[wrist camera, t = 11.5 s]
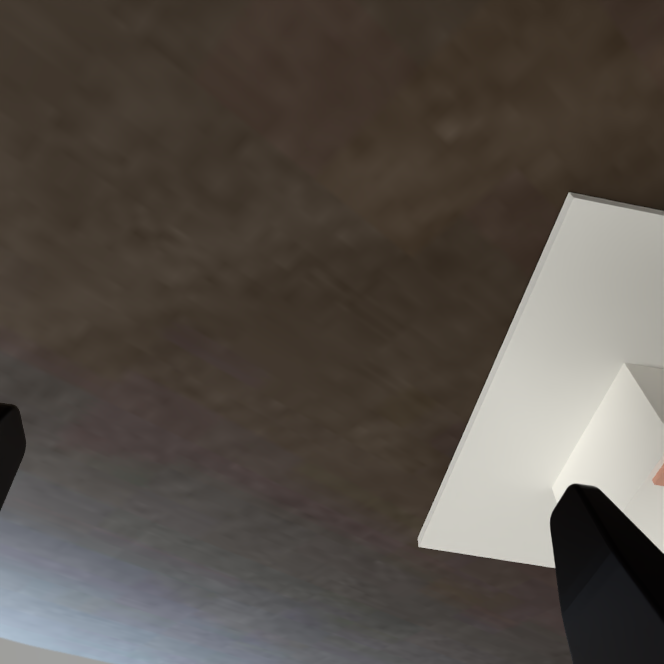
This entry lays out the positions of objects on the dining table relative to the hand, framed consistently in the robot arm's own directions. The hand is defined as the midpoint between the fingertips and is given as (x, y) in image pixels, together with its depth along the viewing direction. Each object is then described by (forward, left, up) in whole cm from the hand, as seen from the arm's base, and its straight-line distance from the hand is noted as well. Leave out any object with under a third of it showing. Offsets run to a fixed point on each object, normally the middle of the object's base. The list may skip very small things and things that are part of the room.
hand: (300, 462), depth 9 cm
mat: (+7, +14, -11) cm, 20 cm away
